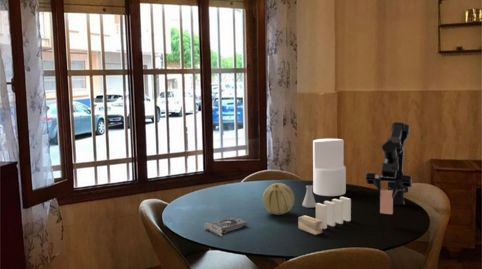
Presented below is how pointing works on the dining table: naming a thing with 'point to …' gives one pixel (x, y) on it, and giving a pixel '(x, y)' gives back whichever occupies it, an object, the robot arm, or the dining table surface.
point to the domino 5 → (386, 201)
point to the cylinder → (329, 167)
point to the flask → (309, 198)
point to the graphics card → (225, 225)
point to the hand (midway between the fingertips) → (386, 196)
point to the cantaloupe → (278, 198)
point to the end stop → (310, 224)
